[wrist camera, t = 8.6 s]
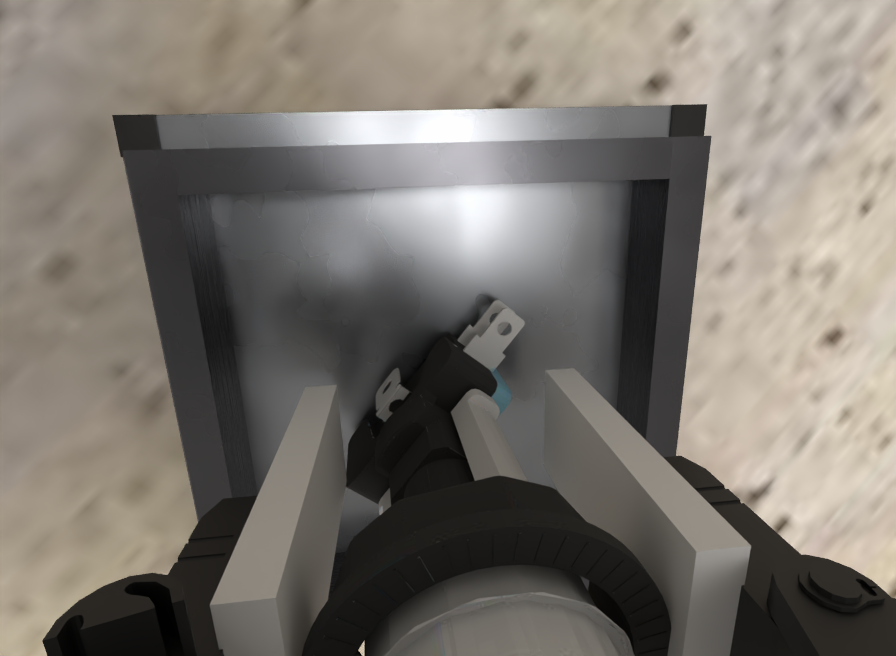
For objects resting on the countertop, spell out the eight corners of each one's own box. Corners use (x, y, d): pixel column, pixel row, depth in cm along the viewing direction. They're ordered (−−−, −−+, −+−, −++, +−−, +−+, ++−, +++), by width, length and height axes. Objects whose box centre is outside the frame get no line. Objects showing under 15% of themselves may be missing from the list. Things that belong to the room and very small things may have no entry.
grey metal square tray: (138, 122, 14) (63, 102, 11) (681, 111, 15) (754, 91, 12) (228, 586, 18) (194, 667, 15) (640, 542, 20) (686, 608, 16)
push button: (434, 249, 14) (574, 405, 4) (565, 350, 15) (874, 621, 6) (302, 425, 15) (187, 857, 5) (438, 502, 16) (534, 942, 7)
